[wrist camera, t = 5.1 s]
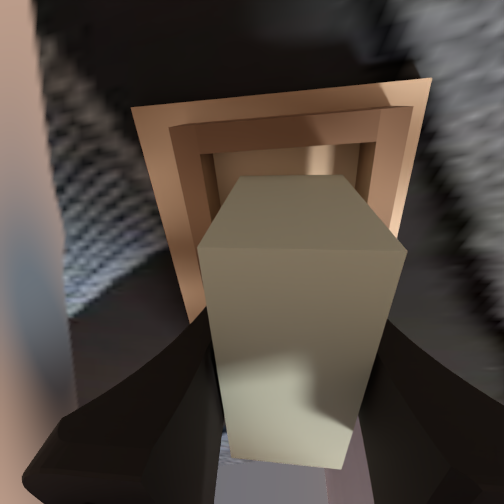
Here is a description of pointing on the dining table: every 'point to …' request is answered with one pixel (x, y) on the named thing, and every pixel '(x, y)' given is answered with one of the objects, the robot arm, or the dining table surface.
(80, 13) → the dining table surface
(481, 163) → the dining table surface
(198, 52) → the dining table surface
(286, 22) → the dining table surface
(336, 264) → the beige block
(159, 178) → the slot board
